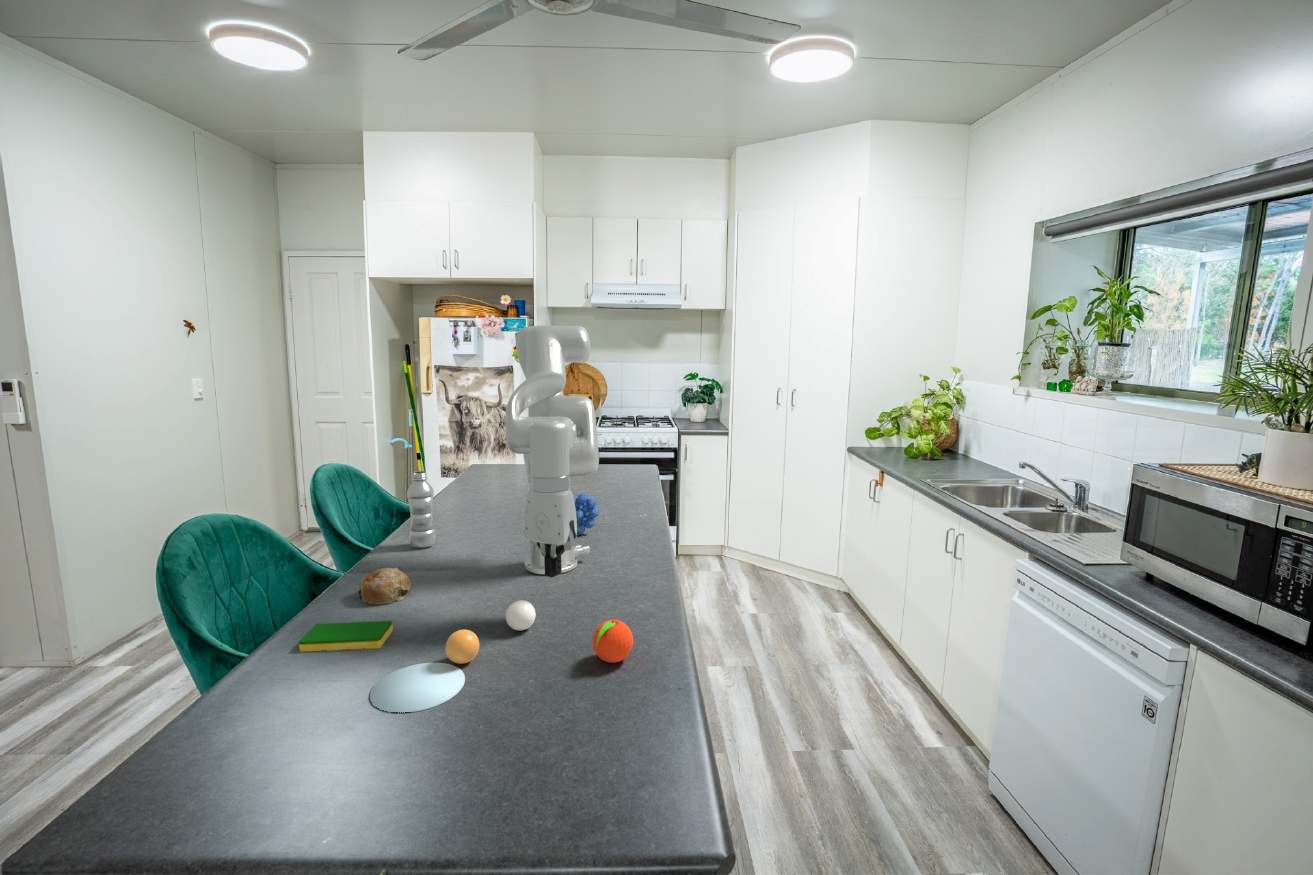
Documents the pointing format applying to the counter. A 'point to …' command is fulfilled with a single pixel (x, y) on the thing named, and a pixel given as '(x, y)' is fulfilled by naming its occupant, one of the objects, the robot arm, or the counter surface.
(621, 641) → the clementine
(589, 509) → the grapes
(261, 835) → the counter surface
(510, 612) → the cue ball
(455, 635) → the orange ball
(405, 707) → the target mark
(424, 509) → the plastic bottle
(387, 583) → the bread roll
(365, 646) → the dish sponge
